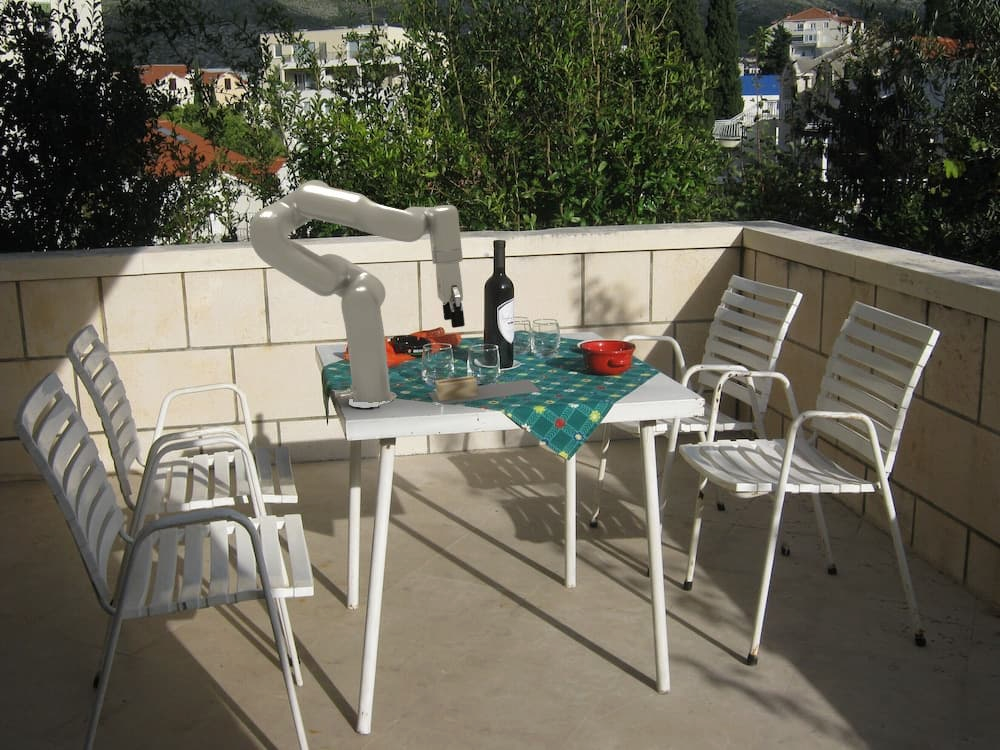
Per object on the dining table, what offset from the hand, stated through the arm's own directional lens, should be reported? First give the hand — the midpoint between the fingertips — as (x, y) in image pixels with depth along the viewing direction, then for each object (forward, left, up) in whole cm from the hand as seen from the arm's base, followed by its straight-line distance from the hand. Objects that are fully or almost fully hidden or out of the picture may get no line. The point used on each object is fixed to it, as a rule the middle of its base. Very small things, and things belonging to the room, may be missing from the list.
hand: (454, 323), depth 271 cm
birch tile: (-1, -1, -19) cm, 19 cm away
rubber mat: (+6, -1, -19) cm, 20 cm away
